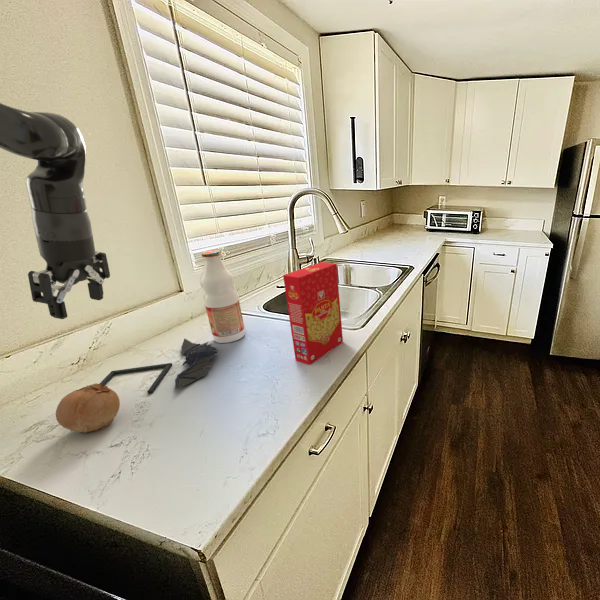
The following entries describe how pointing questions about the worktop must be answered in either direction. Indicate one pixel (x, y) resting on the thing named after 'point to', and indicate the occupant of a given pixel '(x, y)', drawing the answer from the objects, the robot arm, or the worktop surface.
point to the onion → (88, 408)
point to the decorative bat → (195, 362)
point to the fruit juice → (221, 299)
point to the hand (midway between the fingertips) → (79, 307)
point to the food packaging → (314, 311)
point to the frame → (156, 382)
